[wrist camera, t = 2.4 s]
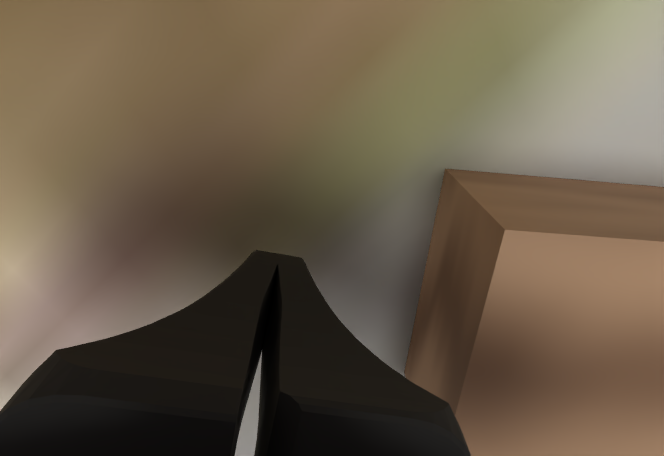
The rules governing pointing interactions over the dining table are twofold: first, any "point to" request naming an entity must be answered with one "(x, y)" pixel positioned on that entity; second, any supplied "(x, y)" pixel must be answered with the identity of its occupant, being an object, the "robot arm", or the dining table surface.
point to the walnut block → (545, 315)
